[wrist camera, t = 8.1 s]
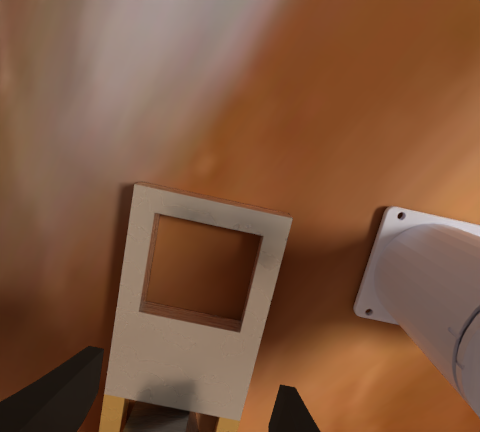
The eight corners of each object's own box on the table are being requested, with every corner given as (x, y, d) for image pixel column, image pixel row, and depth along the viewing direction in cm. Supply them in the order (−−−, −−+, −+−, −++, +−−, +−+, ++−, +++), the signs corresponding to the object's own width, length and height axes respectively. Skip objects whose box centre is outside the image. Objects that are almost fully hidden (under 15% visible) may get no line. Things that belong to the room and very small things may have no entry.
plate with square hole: (289, 213, 21) (292, 218, 19) (218, 488, 26) (216, 508, 24) (142, 181, 21) (134, 184, 19) (99, 465, 26) (91, 485, 24)
